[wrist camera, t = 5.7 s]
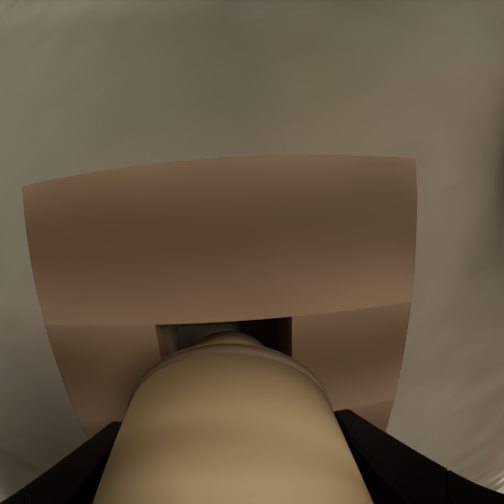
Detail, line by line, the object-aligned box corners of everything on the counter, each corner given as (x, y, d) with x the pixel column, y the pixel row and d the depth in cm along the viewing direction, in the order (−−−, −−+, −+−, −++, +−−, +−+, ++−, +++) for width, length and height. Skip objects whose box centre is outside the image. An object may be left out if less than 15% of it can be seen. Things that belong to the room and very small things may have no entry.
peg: (304, 417, 10) (365, 609, 3) (167, 425, 10) (133, 618, 2) (307, 289, 9) (467, 523, 2) (139, 300, 9) (-6, 529, 1)
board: (354, 429, 14) (374, 468, 11) (126, 444, 13) (112, 484, 10) (374, 163, 11) (415, 158, 8) (65, 184, 11) (22, 186, 8)
